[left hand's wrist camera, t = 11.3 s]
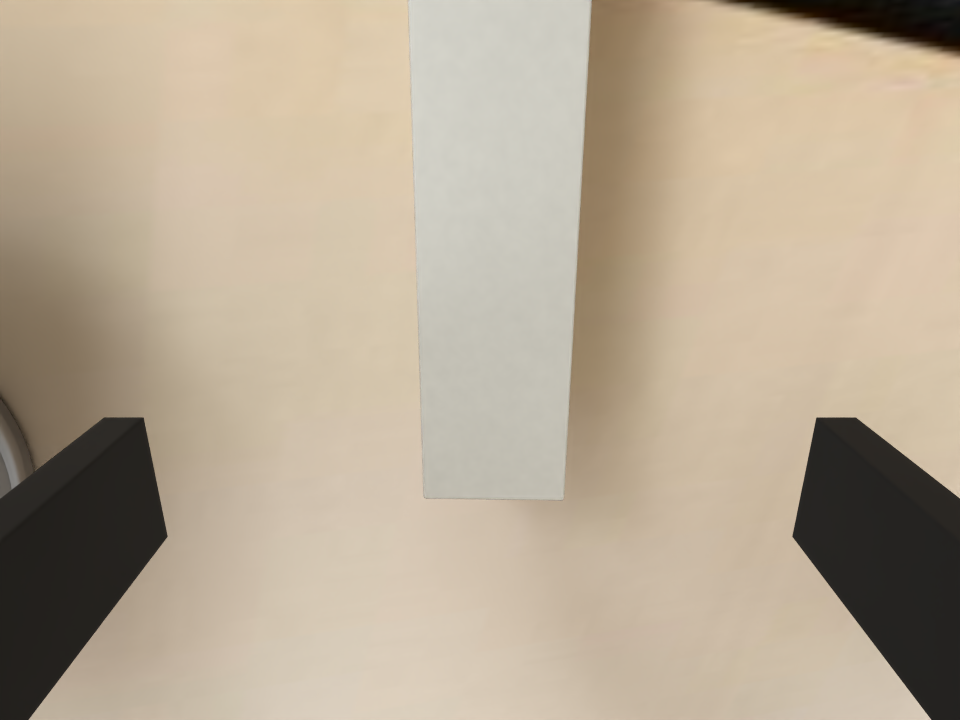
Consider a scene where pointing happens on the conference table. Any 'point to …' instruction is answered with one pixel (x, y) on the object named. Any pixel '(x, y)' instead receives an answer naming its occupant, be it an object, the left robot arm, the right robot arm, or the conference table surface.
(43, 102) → the conference table surface
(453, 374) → the bar
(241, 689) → the conference table surface
